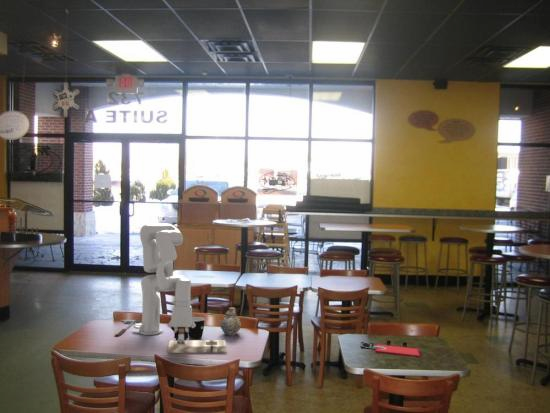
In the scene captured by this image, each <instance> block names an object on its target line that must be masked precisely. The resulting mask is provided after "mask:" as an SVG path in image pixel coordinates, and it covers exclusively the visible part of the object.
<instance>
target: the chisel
mask: <svg viewBox="0 0 550 413" xmlns="http://www.w3.org/2000/svg"><path fill="white" fill-rule="evenodd" d="M120 321H122V323H123V324H126V325H127V324H129V325H127V326H126V327H124V328H122V329H121V330H120V331H119V332H117V333H116V334H114V337H117V338H118V337H121V336H122V335H124V334H125V333H126V331H128V329H129V328H130V327H132V326H134V324H137V323H139V324H140V323H142V320H138V319H129V318H128V319H121V320H120Z"/></svg>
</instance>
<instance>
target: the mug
mask: <svg viewBox="0 0 550 413" xmlns="http://www.w3.org/2000/svg"><path fill="white" fill-rule="evenodd" d="M192 320H193V321H194V323H195V324H196V326H195V327H194V328H192V329H191V330H190V331H189V332H188V339H190V340H201V339H202V337H203V334H204V330H205V329H204V328H205V318H204V317H201V316H192ZM191 326H192V325H191Z"/></svg>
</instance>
